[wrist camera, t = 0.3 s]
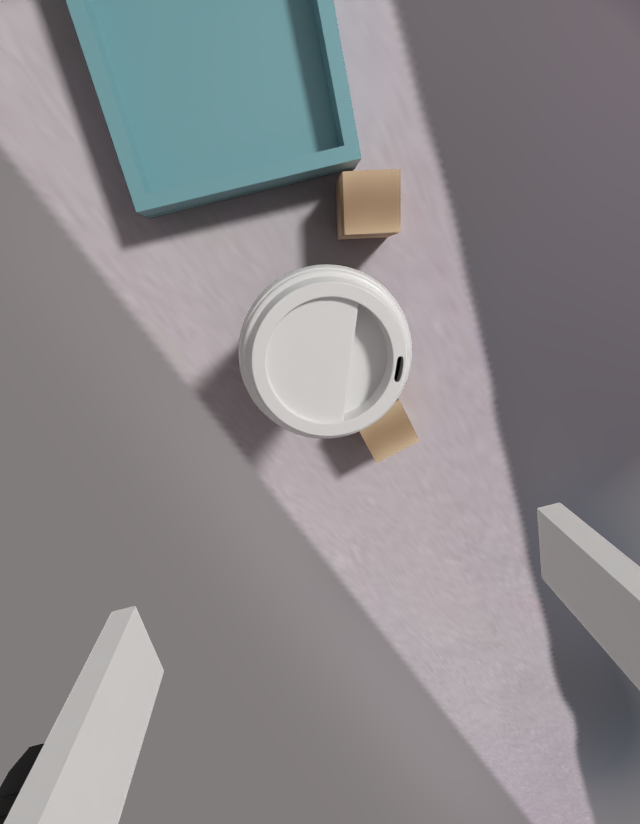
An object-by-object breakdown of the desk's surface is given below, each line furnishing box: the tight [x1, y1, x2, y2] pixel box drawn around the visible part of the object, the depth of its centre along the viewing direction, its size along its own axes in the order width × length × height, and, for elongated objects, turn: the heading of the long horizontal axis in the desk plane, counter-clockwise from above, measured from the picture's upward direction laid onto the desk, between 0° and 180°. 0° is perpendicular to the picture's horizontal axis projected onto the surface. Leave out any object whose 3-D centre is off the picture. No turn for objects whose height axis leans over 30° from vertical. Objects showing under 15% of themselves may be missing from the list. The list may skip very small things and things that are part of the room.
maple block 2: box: [359, 399, 419, 463], centre depth 37 cm, size 4×4×4 cm
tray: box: [66, 0, 361, 218], centre depth 29 cm, size 16×16×3 cm
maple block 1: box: [336, 169, 400, 240], centre depth 32 cm, size 4×4×4 cm
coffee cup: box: [238, 264, 412, 439], centre depth 29 cm, size 10×10×15 cm
